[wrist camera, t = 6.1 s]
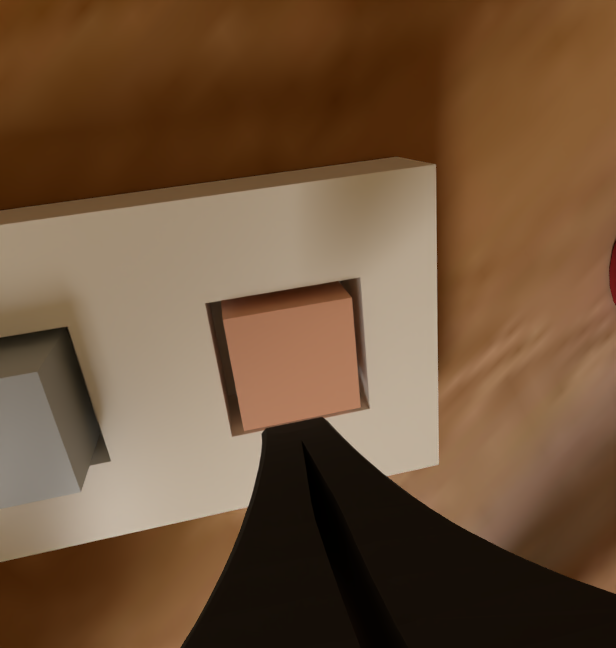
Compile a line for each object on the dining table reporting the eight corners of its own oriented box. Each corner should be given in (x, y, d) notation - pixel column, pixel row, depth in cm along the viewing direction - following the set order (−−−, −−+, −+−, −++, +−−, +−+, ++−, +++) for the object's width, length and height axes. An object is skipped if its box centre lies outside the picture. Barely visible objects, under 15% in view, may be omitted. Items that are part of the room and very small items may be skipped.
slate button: (100, 432, 16) (81, 492, 13) (-22, 455, 15) (-67, 522, 13) (66, 327, 14) (37, 371, 12) (-70, 349, 14) (-131, 401, 11)
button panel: (406, 417, 20) (438, 464, 18) (-304, 565, 17) (-402, 651, 14) (397, 156, 16) (436, 164, 14) (-532, 282, 13) (-726, 326, 10)
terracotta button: (338, 366, 18) (360, 407, 16) (237, 385, 18) (243, 431, 15) (329, 270, 17) (351, 297, 14) (219, 288, 16) (222, 319, 14)
